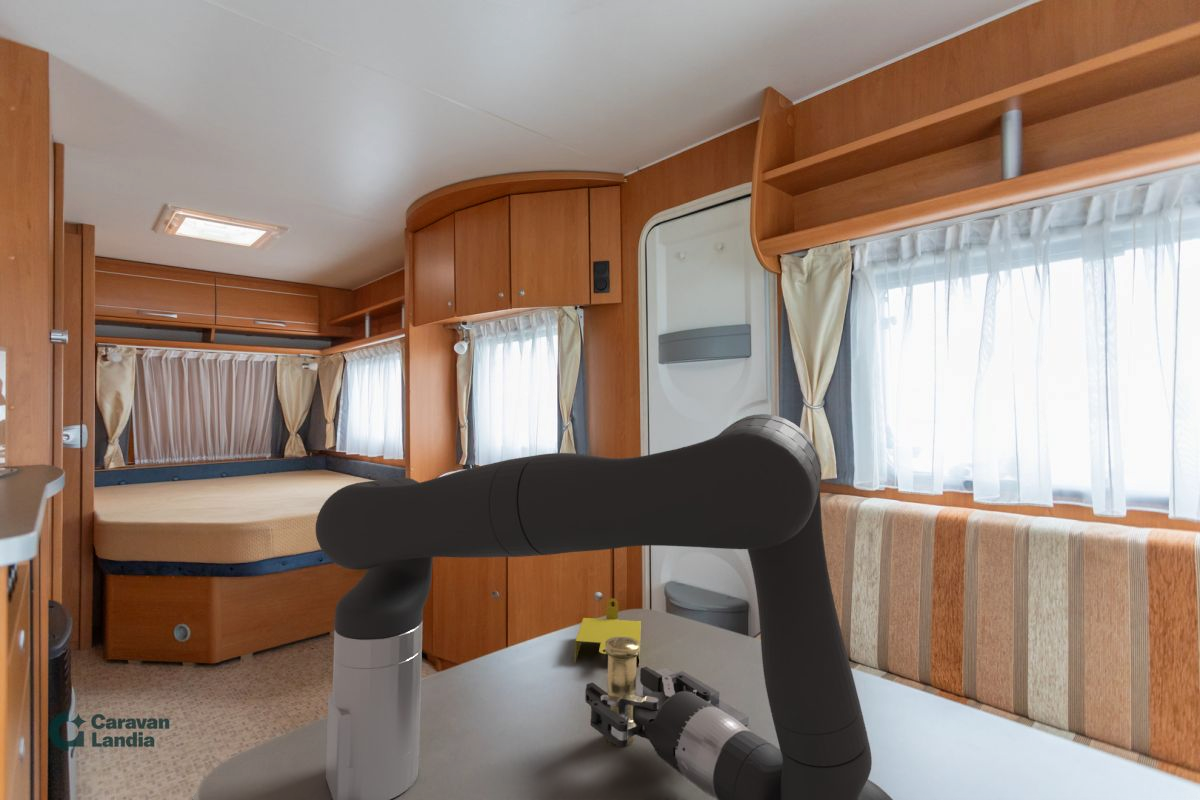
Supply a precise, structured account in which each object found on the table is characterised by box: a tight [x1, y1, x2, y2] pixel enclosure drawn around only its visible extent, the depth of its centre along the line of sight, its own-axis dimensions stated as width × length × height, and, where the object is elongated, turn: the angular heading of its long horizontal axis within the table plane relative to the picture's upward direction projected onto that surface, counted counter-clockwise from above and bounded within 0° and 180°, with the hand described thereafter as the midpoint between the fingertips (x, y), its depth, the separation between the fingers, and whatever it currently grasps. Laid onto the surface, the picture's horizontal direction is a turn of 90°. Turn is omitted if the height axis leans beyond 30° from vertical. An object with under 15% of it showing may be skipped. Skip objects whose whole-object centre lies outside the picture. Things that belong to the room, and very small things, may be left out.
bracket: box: [574, 597, 642, 668], centre depth 98 cm, size 16×8×15 cm
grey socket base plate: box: [636, 667, 749, 727], centre depth 82 cm, size 9×17×2 cm, turn 34°
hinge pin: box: [604, 637, 641, 747], centre depth 74 cm, size 4×4×12 cm
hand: (616, 682), depth 75 cm, fingers open, 8 cm apart
